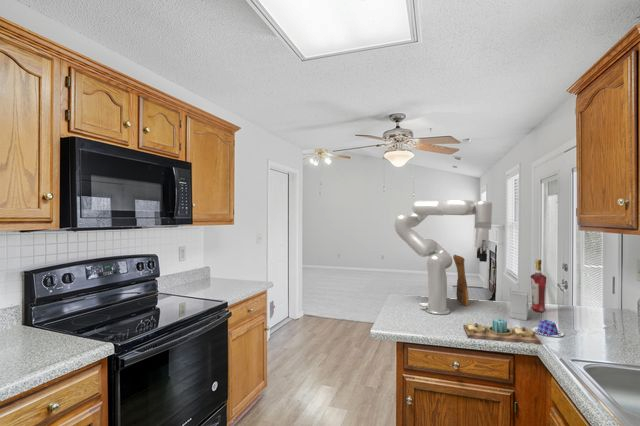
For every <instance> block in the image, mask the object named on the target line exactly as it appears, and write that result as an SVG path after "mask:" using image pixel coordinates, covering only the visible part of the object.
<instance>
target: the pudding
mask: <svg viewBox="0 0 640 426" xmlns="http://www.w3.org/2000/svg"><path fill="white" fill-rule="evenodd" d="M535 329H537V332H540V334H541V333H542V334H541V336H544V335H543V334H547V335H548V336H549V335H557V336H552V337H559V336H558V335H559V334H558V332H560V333H561V336H560V337H562V336H564V335H565V334H564V332H562V331H561V330H558V327H557V323H555V322H554V321H552V320H547V319H541V320H539V323H538V326H534V327H532V328H531V331H535ZM537 332H535V334H538V333H537ZM547 335H545V336H546V337H548V336H547Z"/></svg>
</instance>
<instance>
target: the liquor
mask: <svg viewBox="0 0 640 426" xmlns="http://www.w3.org/2000/svg"><path fill="white" fill-rule="evenodd" d="M530 290H531V307H530V309H531V310H532V311H533V312H535V313H544V312H545V311H547V308H546V293H547V276H546V275H544V274H543V273H542V259H535V273H533V274H531V275H530Z"/></svg>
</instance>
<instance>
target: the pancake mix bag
mask: <svg viewBox="0 0 640 426" xmlns="http://www.w3.org/2000/svg"><path fill="white" fill-rule="evenodd" d="M452 256H453V258H452V260H453V261H454V264H455V266H456V267H455V268H456V270H457V271H456V272H457V279H456V281H457V282H456V301H457V303H459V305H460V306H463V307H464V306H465V307H466V306H469V304H470V303H469V300H470V299H469V292H468V291H469V290H468V283H467V278H466V271H465V270H466V269H465V261H466V260H465V258H464V257H462V256H460V255H456V254H454V255H452Z"/></svg>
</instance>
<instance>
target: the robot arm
mask: <svg viewBox="0 0 640 426" xmlns="http://www.w3.org/2000/svg"><path fill="white" fill-rule="evenodd" d="M411 210H412V211H411V212H410V213H408V212H406V213H401V214H399V215H397V217H395V220H394V230H395V232H396V234H397V235H398V237H400V238H401V240H402V241H404V242H405V243H406V244H407V246H409V247H410V248H411V249H412V251H414V252H415V253H416V255H417V256H420V257H422V258H425V257H428V258H427V260H426V269H427V276H428V277H427V279H428V281H427V282H428V288H427V289H428V292H427V295H428V300H427V302H419V307H421V308H425V312H427V313H429V314H432V315H440V316H442V315H448V314H450V311H451V310H450V308H448V307H447V306H448V303H447V302H448V299H447V298H448V296H447V292H448V290H447V289H448V285H447V284H448V283H447V282H448V281H447V271H446V269H449V268H450V267H451V266H452V264H453V258H452V256H451V254H450V253H449V252H448V251H447V250H446V249H445V248H444V247H442V245H440V244H439V243H438V242H437V241H435V240H433V239H431V238H427V239H426V238H424V237H423V236H422V235H420V234H419V233H418V232H417V231H415V230H414V229H412V228H416V227H417V226H418V225H421V223H422V222H423V221H424V220H425V219H426V218H427V217H428V216H472V215H474V229H475V230H476V232H475V240H474V241H475V242H474V243H475V244H474V247H475V248H476V249H477V250H476V258H477V259H479V262H484V263H487V261H488V250H489V240H490V239H489V238H490V237H489V236H490V235H489V234H490V232H489V231H490V230H492V220H493V219H492V218H493V217H492V216H493V203H492V202H491V201H488V200H487V201H486V200H479V201H475V200H474V201H473V200H465V199H464V200H456V199H455V200H446V199H417V200H415V201H414V202H413V203H412V205H411ZM487 249H488V250H487Z"/></svg>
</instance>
